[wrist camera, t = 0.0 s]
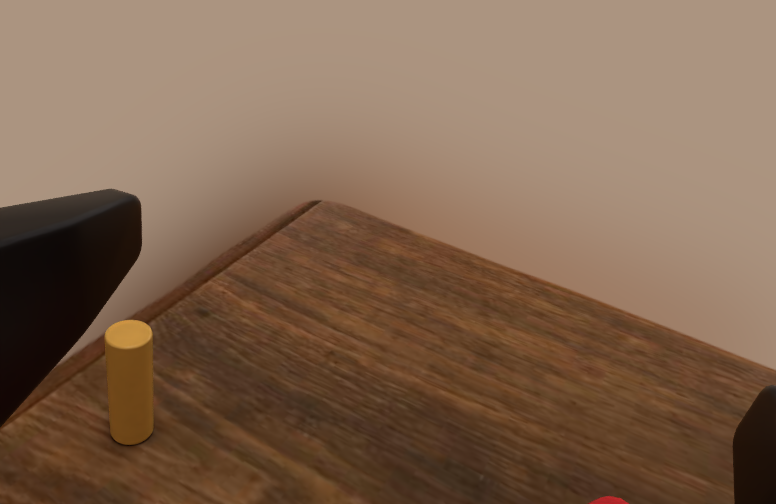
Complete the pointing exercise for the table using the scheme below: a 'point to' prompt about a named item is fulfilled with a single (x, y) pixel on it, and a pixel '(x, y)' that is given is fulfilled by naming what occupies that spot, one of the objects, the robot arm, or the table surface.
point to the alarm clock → (608, 500)
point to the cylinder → (130, 381)
